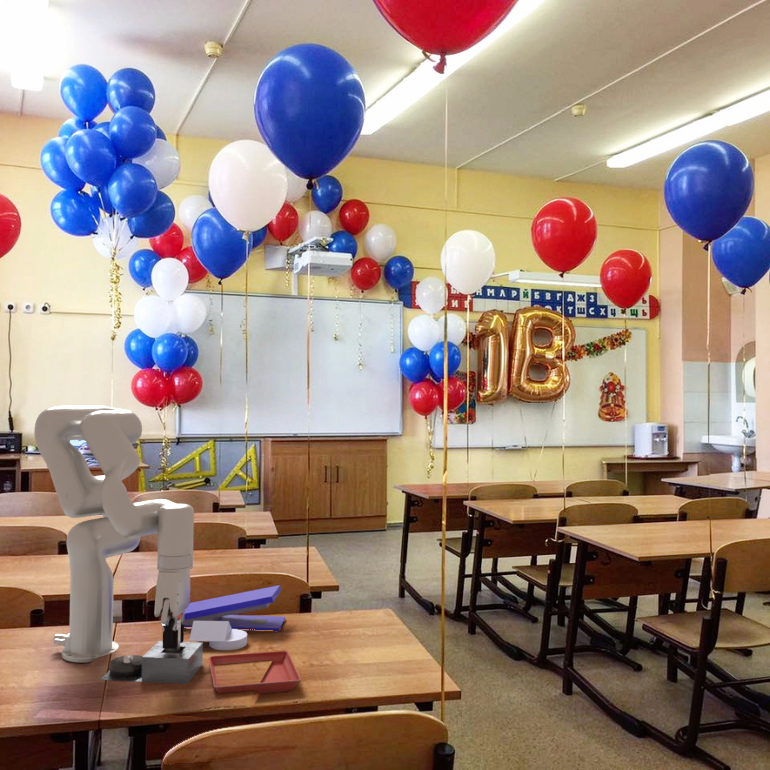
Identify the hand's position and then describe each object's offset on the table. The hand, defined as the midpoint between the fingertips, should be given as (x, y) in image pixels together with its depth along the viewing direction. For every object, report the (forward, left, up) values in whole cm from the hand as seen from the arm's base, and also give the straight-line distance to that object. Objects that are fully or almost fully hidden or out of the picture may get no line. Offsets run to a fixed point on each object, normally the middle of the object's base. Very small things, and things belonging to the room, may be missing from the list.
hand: (173, 644), depth 161 cm
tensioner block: (-4, 0, -7) cm, 9 cm away
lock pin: (0, 0, -6) cm, 6 cm away
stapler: (+3, +37, -8) cm, 38 cm away
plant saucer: (+18, +1, -8) cm, 19 cm away
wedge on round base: (+5, +19, -8) cm, 21 cm away
